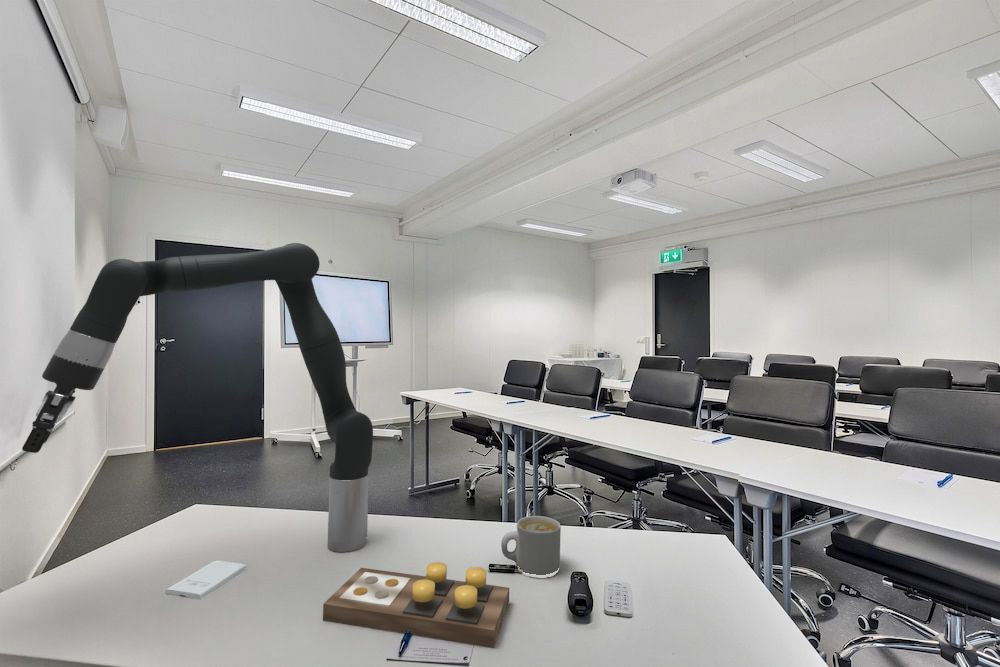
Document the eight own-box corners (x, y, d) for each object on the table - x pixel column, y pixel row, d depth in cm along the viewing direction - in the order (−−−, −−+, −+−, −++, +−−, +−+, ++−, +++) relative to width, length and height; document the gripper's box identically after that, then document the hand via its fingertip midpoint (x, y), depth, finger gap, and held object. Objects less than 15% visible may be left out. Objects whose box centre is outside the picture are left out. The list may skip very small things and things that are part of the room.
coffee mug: (558, 558, 113) (559, 516, 113) (561, 580, 103) (562, 534, 103) (502, 555, 114) (503, 514, 114) (499, 576, 104) (500, 531, 104)
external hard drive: (245, 571, 104) (199, 602, 92) (214, 567, 106) (164, 596, 94) (246, 564, 105) (200, 593, 92) (214, 559, 106) (164, 588, 94)
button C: (468, 576, 94) (468, 566, 94) (488, 578, 93) (488, 568, 93) (462, 586, 90) (463, 575, 90) (483, 589, 89) (483, 578, 89)
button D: (458, 594, 87) (458, 583, 87) (479, 597, 86) (479, 586, 86) (451, 606, 83) (452, 595, 83) (473, 610, 82) (474, 598, 82)
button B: (417, 588, 89) (417, 578, 89) (437, 591, 88) (437, 580, 88) (409, 600, 85) (409, 589, 85) (430, 603, 84) (430, 592, 84)
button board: (360, 581, 100) (361, 565, 100) (509, 602, 94) (509, 585, 94) (322, 620, 86) (323, 601, 86) (493, 648, 80) (494, 627, 80)
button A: (430, 571, 95) (430, 561, 95) (449, 573, 95) (449, 563, 95) (423, 580, 92) (423, 570, 92) (442, 583, 91) (443, 573, 91)
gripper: (103, 369, 83) (55, 460, 79) (106, 364, 94) (64, 444, 90) (49, 354, 79) (-5, 449, 75) (59, 351, 90) (13, 434, 86)
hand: (33, 446), depth 83 cm, fingers open, 8 cm apart
